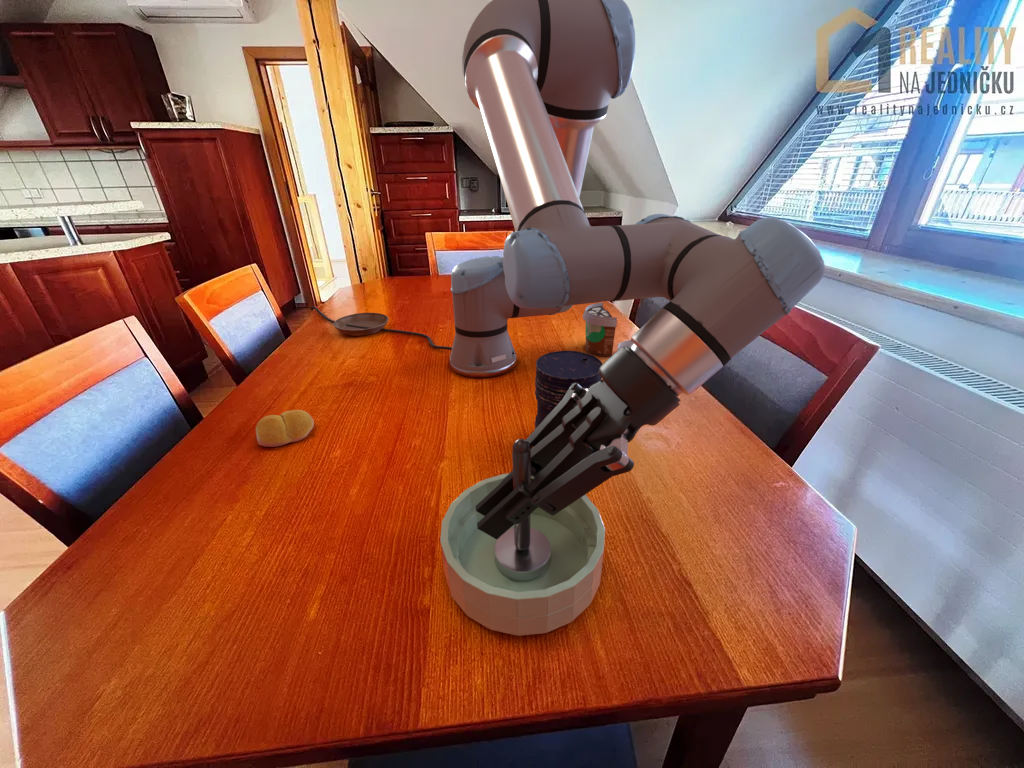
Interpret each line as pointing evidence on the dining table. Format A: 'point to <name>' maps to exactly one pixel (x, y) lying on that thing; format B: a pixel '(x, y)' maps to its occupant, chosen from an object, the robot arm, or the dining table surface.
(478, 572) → the bowl
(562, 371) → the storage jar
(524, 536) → the peg on round base
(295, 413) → the bread roll
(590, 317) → the food container
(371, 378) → the dining table surface
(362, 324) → the saucer
